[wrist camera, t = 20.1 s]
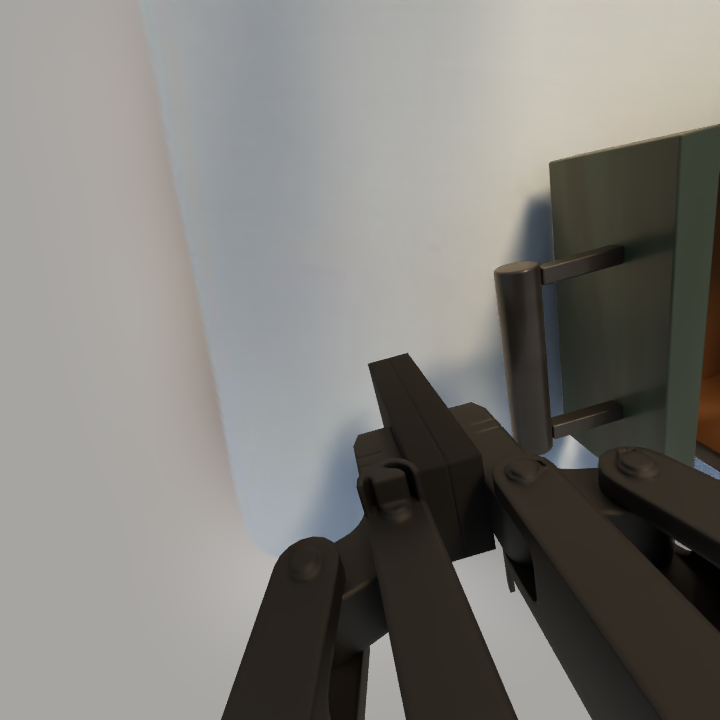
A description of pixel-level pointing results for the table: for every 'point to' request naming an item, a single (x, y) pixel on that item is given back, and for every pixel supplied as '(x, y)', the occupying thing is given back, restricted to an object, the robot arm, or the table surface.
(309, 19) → the table surface
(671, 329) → the drawer
